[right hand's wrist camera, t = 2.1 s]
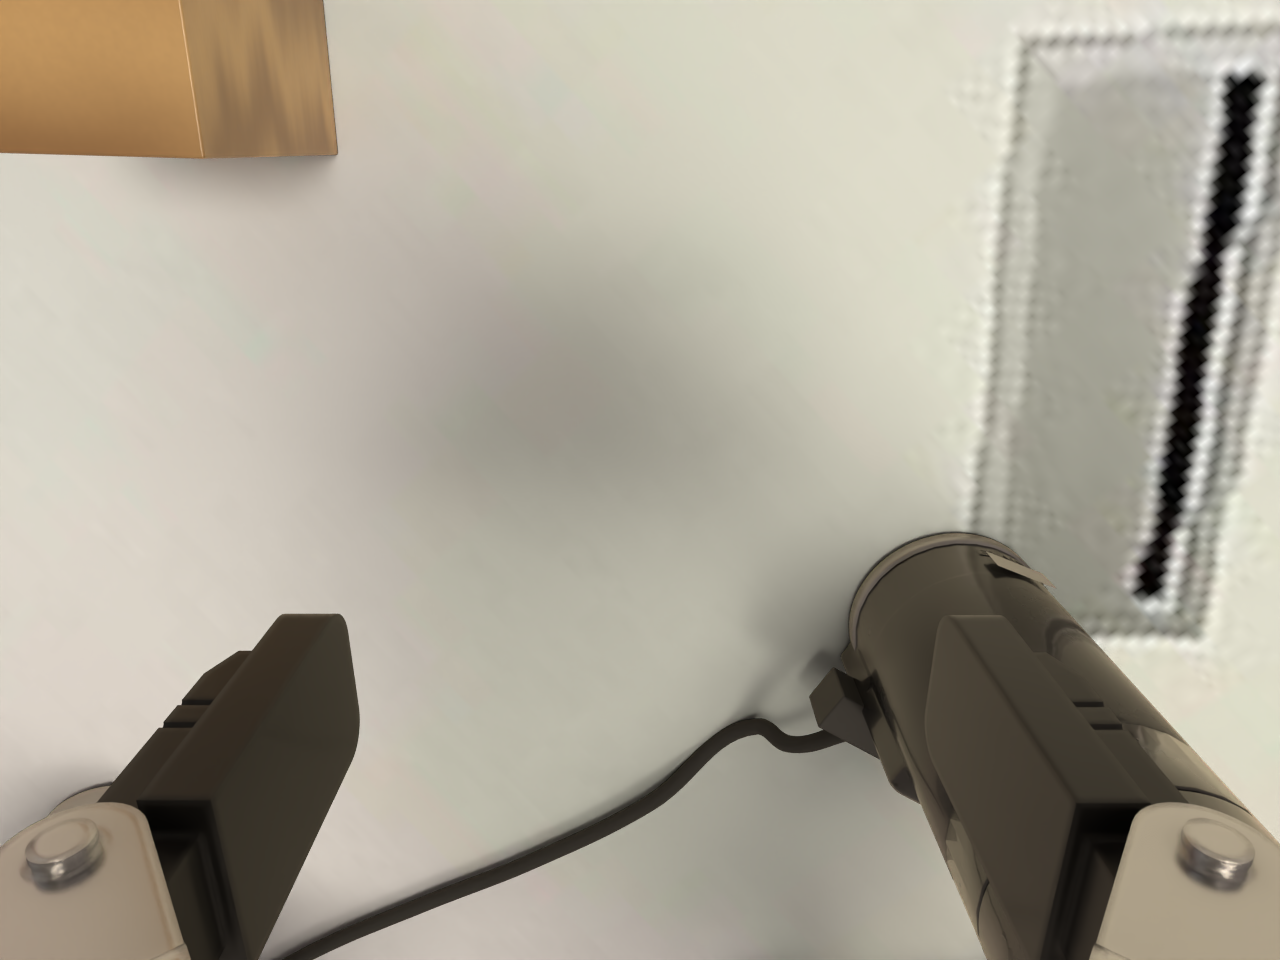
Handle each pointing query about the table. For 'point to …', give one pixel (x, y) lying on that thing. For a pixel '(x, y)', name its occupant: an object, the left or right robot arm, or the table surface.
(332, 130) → the box
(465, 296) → the table surface
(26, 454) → the table surface
